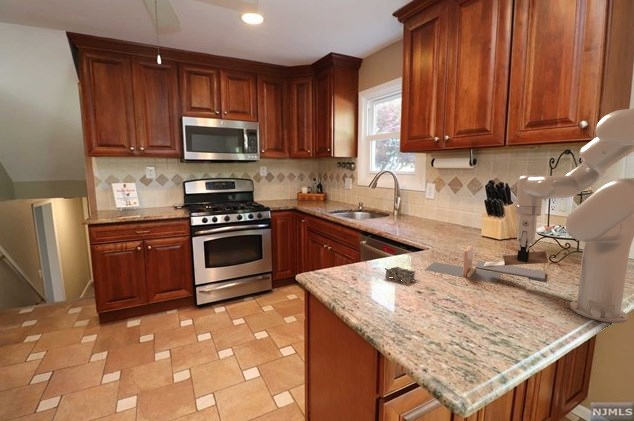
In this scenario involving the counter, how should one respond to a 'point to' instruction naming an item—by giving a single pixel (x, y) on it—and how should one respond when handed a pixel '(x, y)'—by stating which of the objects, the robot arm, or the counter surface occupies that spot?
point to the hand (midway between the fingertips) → (522, 259)
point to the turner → (512, 260)
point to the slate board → (515, 271)
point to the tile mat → (458, 271)
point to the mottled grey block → (400, 274)
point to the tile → (467, 260)
